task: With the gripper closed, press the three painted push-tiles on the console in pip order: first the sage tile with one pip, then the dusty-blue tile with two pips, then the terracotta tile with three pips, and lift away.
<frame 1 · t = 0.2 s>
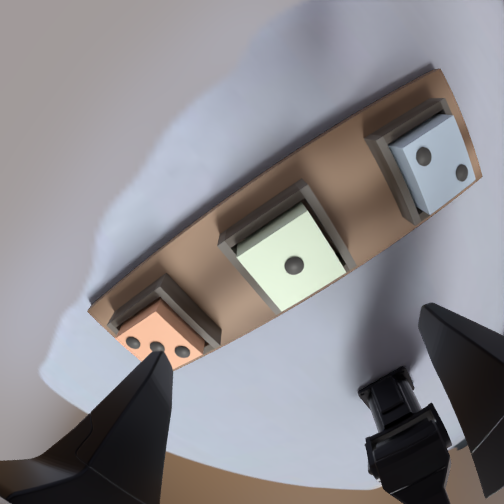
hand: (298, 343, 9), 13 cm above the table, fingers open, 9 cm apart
tile 2: (435, 162, 16), point 3 cm above the table, slide at 0.0 cm
tile 3: (160, 339, 21), point 3 cm above the table, slide at 0.0 cm
tile 1: (291, 258, 18), point 3 cm above the table, slide at 0.0 cm
console: (285, 238, 21), on the table
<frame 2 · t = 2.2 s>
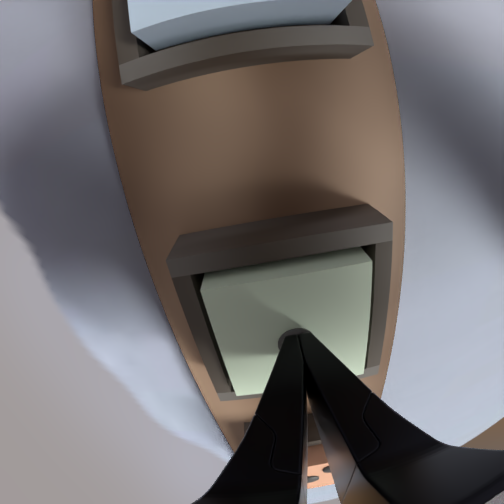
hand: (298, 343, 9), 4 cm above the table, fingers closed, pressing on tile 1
tile 3: (307, 466, 14), point 3 cm above the table, slide at 0.0 cm
tile 1: (292, 323, 10), point 3 cm above the table, slide at 0.8 cm, touching gripper
console: (284, 286, 12), on the table
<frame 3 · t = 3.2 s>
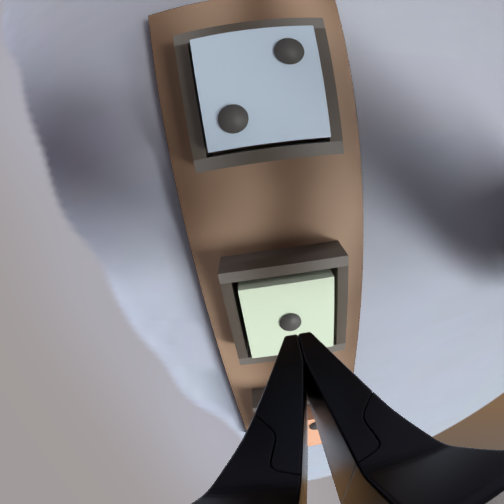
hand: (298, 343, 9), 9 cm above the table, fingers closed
tile 2: (260, 86, 11), point 3 cm above the table, slide at 0.0 cm
tile 3: (298, 426, 21), point 3 cm above the table, slide at 0.0 cm
tile 1: (288, 311, 16), point 2 cm above the table, slide at 0.9 cm
console: (283, 289, 19), on the table
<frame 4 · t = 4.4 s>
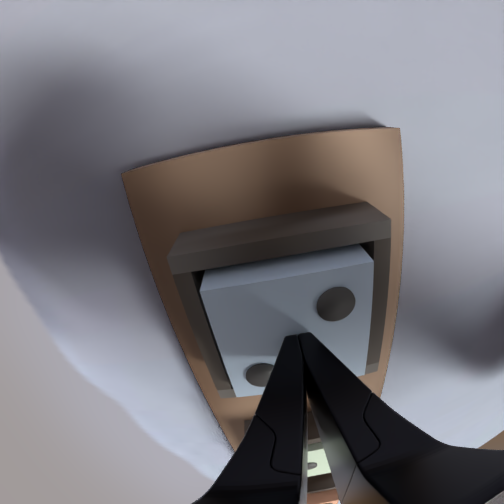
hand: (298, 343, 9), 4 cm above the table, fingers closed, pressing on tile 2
tile 2: (293, 324, 10), point 3 cm above the table, slide at 0.6 cm, touching gripper
tile 3: (310, 502, 19), point 3 cm above the table, slide at 0.0 cm
tile 1: (306, 453, 15), point 2 cm above the table, slide at 0.9 cm
console: (301, 425, 17), on the table
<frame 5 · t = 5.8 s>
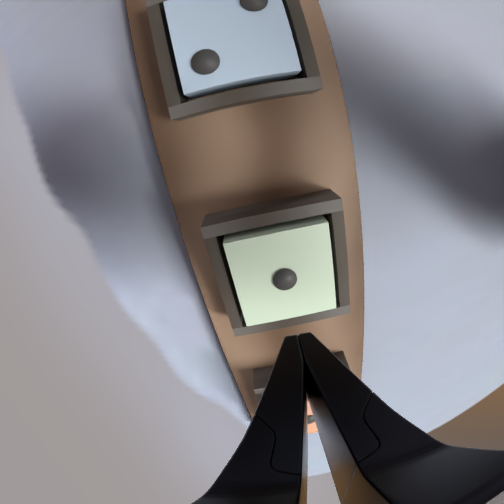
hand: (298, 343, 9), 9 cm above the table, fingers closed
tile 2: (230, 35, 10), point 3 cm above the table, slide at 0.8 cm
tile 3: (306, 409, 19), point 3 cm above the table, slide at 0.0 cm
tile 1: (282, 270, 15), point 2 cm above the table, slide at 0.9 cm
console: (278, 250, 17), on the table
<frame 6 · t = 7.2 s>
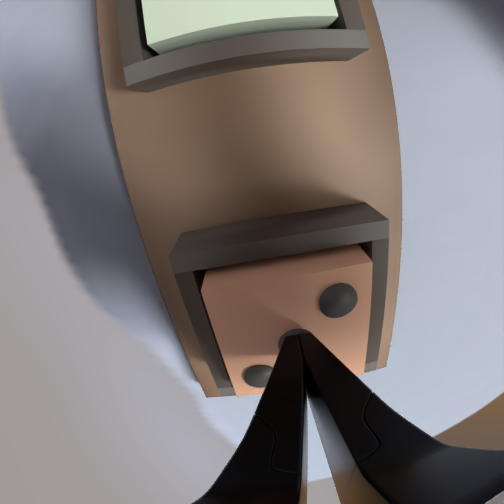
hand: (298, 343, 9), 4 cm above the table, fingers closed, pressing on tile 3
tile 3: (292, 324, 10), point 3 cm above the table, slide at 0.5 cm, touching gripper
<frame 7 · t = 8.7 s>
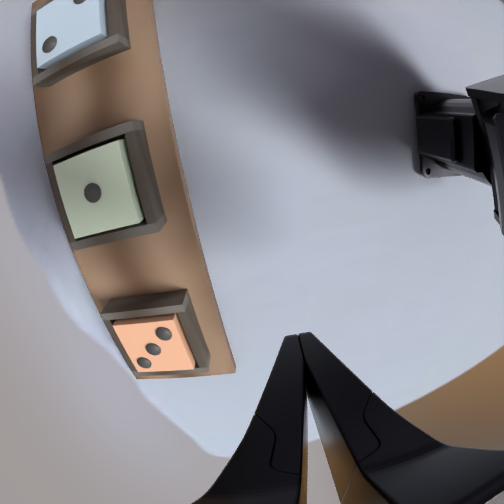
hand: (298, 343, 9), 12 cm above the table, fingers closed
tile 2: (72, 23, 11), point 3 cm above the table, slide at 0.8 cm
tile 3: (156, 340, 21), point 2 cm above the table, slide at 0.9 cm
tile 1: (99, 189, 16), point 2 cm above the table, slide at 0.9 cm
console: (114, 181, 18), on the table
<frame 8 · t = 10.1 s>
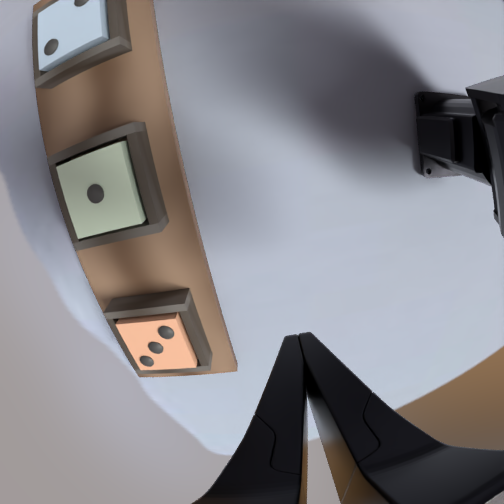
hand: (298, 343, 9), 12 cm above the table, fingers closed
tile 2: (73, 25, 11), point 3 cm above the table, slide at 0.8 cm
tile 3: (158, 339, 21), point 2 cm above the table, slide at 0.9 cm
tile 1: (102, 189, 16), point 2 cm above the table, slide at 0.9 cm
console: (117, 182, 18), on the table
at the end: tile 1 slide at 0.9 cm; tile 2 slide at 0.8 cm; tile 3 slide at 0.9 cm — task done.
